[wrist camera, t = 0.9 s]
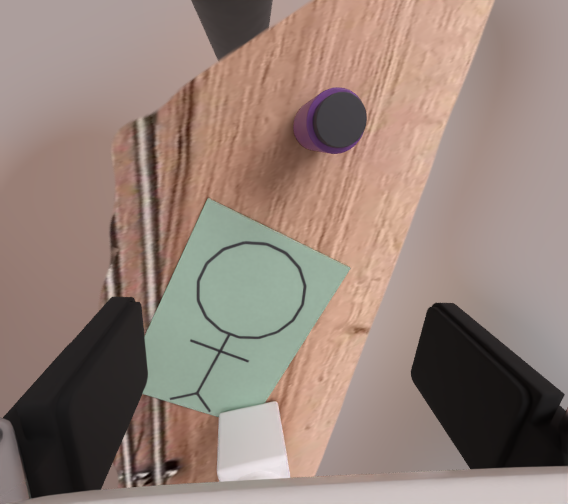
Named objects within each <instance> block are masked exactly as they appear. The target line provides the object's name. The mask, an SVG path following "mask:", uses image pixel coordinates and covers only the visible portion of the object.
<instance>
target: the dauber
mask: <svg viewBox="0 0 568 504" xmlns="http://www.w3.org/2000/svg"><path fill="white" fill-rule="evenodd" d="M366 121H367V116H366V110H365V107H364V105H363V103H362V102H361V100H360V99H359V97H358V96H357V95H356V94H355V93H353V92H352V91H350V90H348V89H345V88H331V89H328V90H325V91H323V92H322V93H320V94H319V95H317V96H316V97H315V98H313V99H312V100H310V101H309V102H308V103H306V104H305V105H303V106H302V107H301V108H300V109H299V111H298V112H297V114H296V116H295V119H294V125H293V128H294V134H295V137H296V139H297V141H298V142H299V143H300V144H301V145H302V146H303V147H305V148H306V149H309V150H313V151H319V152H325V153H331V154H338V153H343V152H345V151H348V150H349V149H351V148H352V147H354V146H355V145H356V144H357V142H358V141H359V140H360V138H361V137H362V135H363V132H364V130H365V126H366Z"/></svg>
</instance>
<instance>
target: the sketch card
mask: <svg viewBox="0 0 568 504" xmlns="http://www.w3.org/2000/svg"><path fill="white" fill-rule="evenodd" d="M349 270H350V267H348V266H346V265H344V264H342V263H340V262H338V261H336V260H334V259H332V258H330V257H328V256H326V255H324V254H322V253H320V252H318V251H316V250H314V249H312V248H310V247H308V246H306V245H304V244H301V243H299V242H297V241H295V240H293V239H291V238H289V237H287V236H285V235H283V234H281V233H279V232H277V231H275V230H273V229H271V228H269V227H267V226H265V225H263V224H261V223H259V222H257V221H255V220H253V219H250V218H248V217H246V216H244V215H242V214H240V213H238V212H236V211H234V210H232V209H230V208H228V207H226V206H224V205H222V204H220V203H218V202H216V201H214V200H212V199H210V198H208V199H207V201H206V203H205V205H204V208H203V210H202V212H201V214H200V216H199V218H198V221H197V223H196V225H195V227H194V229H193V232H192V234H191V236H190V238H189V240H188V243H187V245H186V247H185V249H184V251H183V253H182V256H181V258H180V260H179V262H178V264H177V267H176V269H175V271H174V273H173V275H172V278H171V280H170V282H169V284H168V286H167V288H166V291H165V293H164V295H163V297H162V299H161V302H160V304H159V306H158V308H157V310H156V313H155V315H154V317H153V319H152V321H151V323H150V326H149V328H148V330H147V332H146V334H145V337H144V338H145V348H146V358H147V368H148V379H147V384H146V386H145V389H144V391H143V393H142V394H145V395H148V396H151V397H155V398H158V399H161V400H164V401H168V402H171V403H174V404H177V405H181V406H184V407H187V408H190V409H194V410H197V411H200V412H203V413H207V414H210V415H213V416H216V417H219V414H220V413H222V412H227V411H231V410H236V409H241V408H245V407H250V406H255V405H259V404H264V403H265V402H266V400H267V398H268V397H269V395H270V394H271V392H272V391H273V389H274V387H275V386H276V384H277V383H278V381H279V380H280V378H281V377H282V375H283V373H284V372H285V370H286V369H287V367H288V366H289V364H290V362H291V361H292V359H293V358H294V356H295V355H296V353H297V351H298V350H299V348H300V347H301V345H302V344H303V342H304V340H305V339H306V337H307V336H308V334H309V333H310V331H311V330H312V328H313V326H314V325H315V323H316V322H317V320H318V319H319V317H320V315H321V314H322V312H323V311H324V309H325V308H326V306H327V304H328V303H329V301H330V300H331V298H332V297H333V295H334V293H335V292H336V290H337V289H338V287H339V286H340V284H341V283H342V281H343V279H344V278H345V276H346V275H347V273H348V272H349Z"/></svg>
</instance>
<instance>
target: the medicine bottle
mask: <svg viewBox="0 0 568 504" xmlns="http://www.w3.org/2000/svg"><path fill="white" fill-rule="evenodd" d="M217 475H218V478H219V482H224V481H242V480H260V479H279V478H290V472H289V466H288V459H287V453H286V447H285V441H284V436H283V430H282V424H281V418H280V413H279V407H278V403H277V402H276V401H273V402H269V403H264V404H259V405H255V406H250V407H245V408H241V409H236V410H231V411H227V412H222V413H220V414H219V428H218V454H217Z"/></svg>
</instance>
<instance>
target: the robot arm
mask: <svg viewBox="0 0 568 504" xmlns="http://www.w3.org/2000/svg"><path fill="white" fill-rule="evenodd" d="M411 377H412V380H413V382H414V384H415V385H416V387H417V388H418V390H419V391H420V393H421V394H422V396H423V398H424V399H425V401H426V402H427V404H428V405H429V407H430V408H431V410H432V411H433V413H434V414H435V416H436V417H437V419H438V420H439V422H440V423H441V425H442V426H443V428H444V430H445V431H446V432H447V434H448V436H449V437H450V438H451V440H452V442H453V443H454V445H455V446H456V448H457V449H458V450H459V452H460V454H461V455H462V457H463V458H464V460H465V461H466V463H467V465H468V466H469V468H470V469H468V470H467V469H466V470H445V471H421V472H399V473H379V474H358V475H338V476H317V477H297V478H279V479H260V480H242V481H224V482H206V483H188V484H171V485H157V486H144V487H130V488H116V489H103V490H101V488H102V486H103V483H104V481H105V479H106V476H107V474H108V472H109V469H110V467H111V465H112V463H113V460H114V458H115V456H116V453H117V451H118V449H119V446H120V444H121V442H122V439H123V437H124V435H125V433H126V430H127V428H128V426H129V423H130V421H131V419H132V416H133V414H134V412H135V409H136V407H137V405H138V403H139V400H140V398H141V396H142V393H143V391H144V389H145V386H146V384H147V379H148V368H147V358H146V348H145V338H144V328H143V318H142V308H141V304H140V302H135V299H134V298H133V297H112V298H110V299H109V301H108V302H107V303H106V304H105V305H104V306H103V307H102V308H101V310H100V311H99V312H98V313H97V314H96V315H95V316H94V318H93V319H92V320H91V321H90V322H89V323H88V324H87V325H86V326H85V328H84V329H83V330H82V331H81V332H80V333H79V335H77V337H76V338H75V339H74V340H73V341H72V342H71V343H70V344H69V345H68V346H67V347H66V348H65V349H64V350H63V351H62V352H61V354H60V355H59V356H58V357H57V358H56V359H55V360H54V361H53V362H52V364H51V365H50V366H49V367H48V368H47V369H46V370H45V371H44V372H43V374H42V375H41V376H40V377H39V378H38V379H37V380H36V381H35V382H34V384H33V385H32V386H31V387H30V388H29V389H28V390H27V391H26V393H25V394H24V395H23V396H22V397H21V398H20V399H19V400H18V402H17V403H16V404H15V405H14V406H13V407H12V408H11V409H10V410H9V412H8V413H7V414H6V415H5V416H4V417H3V418H0V504H568V408H567V410H566V411H565V410H564V409H563V408H562V407H561V406H559V405H560V403H561V401H562V399H563V397H564V393H562V392H561V391H560V390H559V389H558V388H556V387H555V386H554V385H553V384H551V383H550V382H549V381H548V380H547V379H545V378H544V377H543V376H542V375H540V374H539V373H538V372H537V371H536V370H534V369H533V368H532V367H531V366H529V365H528V364H527V363H526V362H525V361H523V360H522V359H521V358H520V357H519V356H517V355H516V354H515V353H514V352H513V351H511V350H510V349H509V348H508V347H506V346H505V345H504V344H503V343H501V342H500V341H499V340H498V339H497V338H495V337H494V336H493V335H492V334H490V333H489V332H488V331H487V330H486V329H485V328H483V327H482V326H481V325H480V324H478V323H477V322H476V321H475V320H473V319H472V318H471V317H470V316H469V315H468V314H466V313H465V312H464V311H463V310H462V309H460V308H459V307H458V306H457V305H455V304H454V303H435V304H433V306H432V307H430V308H429V309H428V310H427V313H426V317H425V321H424V324H423V328H422V332H421V336H420V339H419V343H418V347H417V350H416V354H415V358H414V362H413V365H412V369H411Z"/></svg>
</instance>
